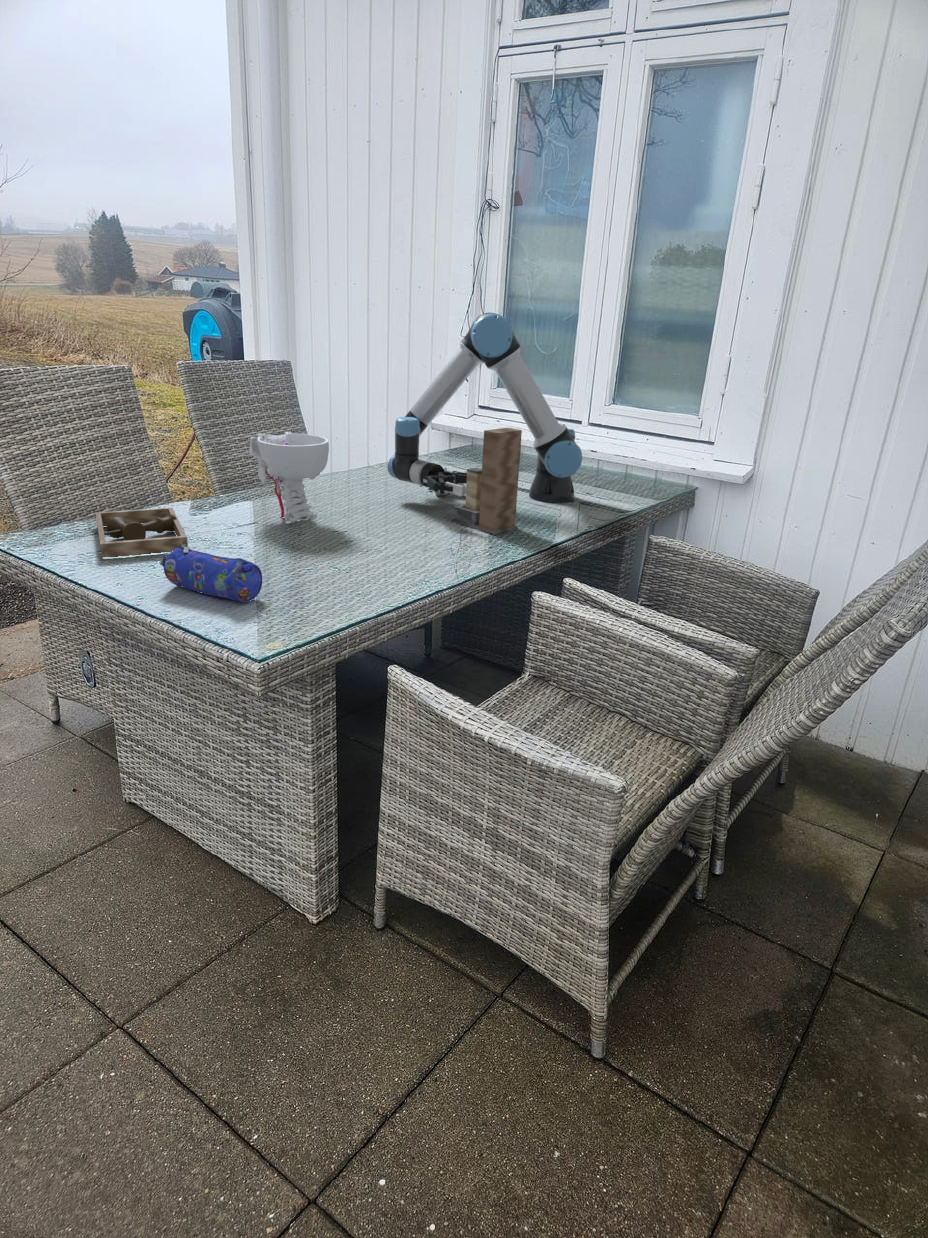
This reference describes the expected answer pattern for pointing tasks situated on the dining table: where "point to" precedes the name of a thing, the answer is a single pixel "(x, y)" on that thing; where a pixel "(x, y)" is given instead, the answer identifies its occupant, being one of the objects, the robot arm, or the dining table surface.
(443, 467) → the wall hook
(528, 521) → the dining table surface
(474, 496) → the beige wooden tall block
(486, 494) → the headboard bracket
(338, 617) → the dining table surface
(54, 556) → the dining table surface
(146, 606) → the dining table surface
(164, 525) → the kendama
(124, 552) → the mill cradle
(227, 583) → the pencil case
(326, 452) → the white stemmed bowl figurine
